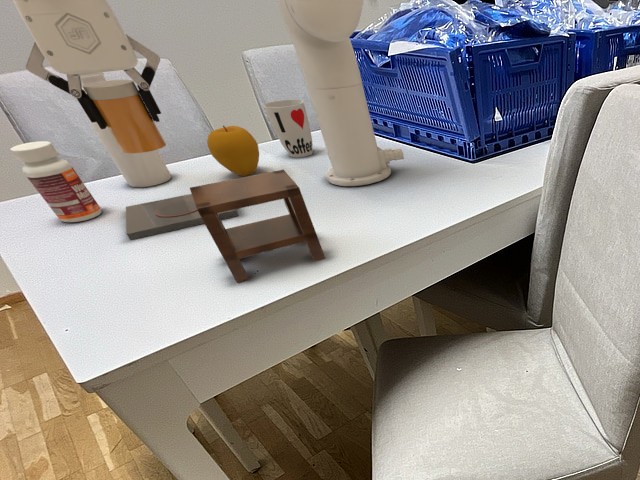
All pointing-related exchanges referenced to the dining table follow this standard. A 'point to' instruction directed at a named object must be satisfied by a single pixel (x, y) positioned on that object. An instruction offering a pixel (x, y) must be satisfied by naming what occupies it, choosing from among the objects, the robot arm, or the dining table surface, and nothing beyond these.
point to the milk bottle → (131, 165)
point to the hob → (165, 216)
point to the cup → (291, 126)
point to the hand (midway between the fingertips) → (130, 122)
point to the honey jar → (125, 115)
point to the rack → (260, 233)
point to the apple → (234, 149)
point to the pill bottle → (56, 182)
